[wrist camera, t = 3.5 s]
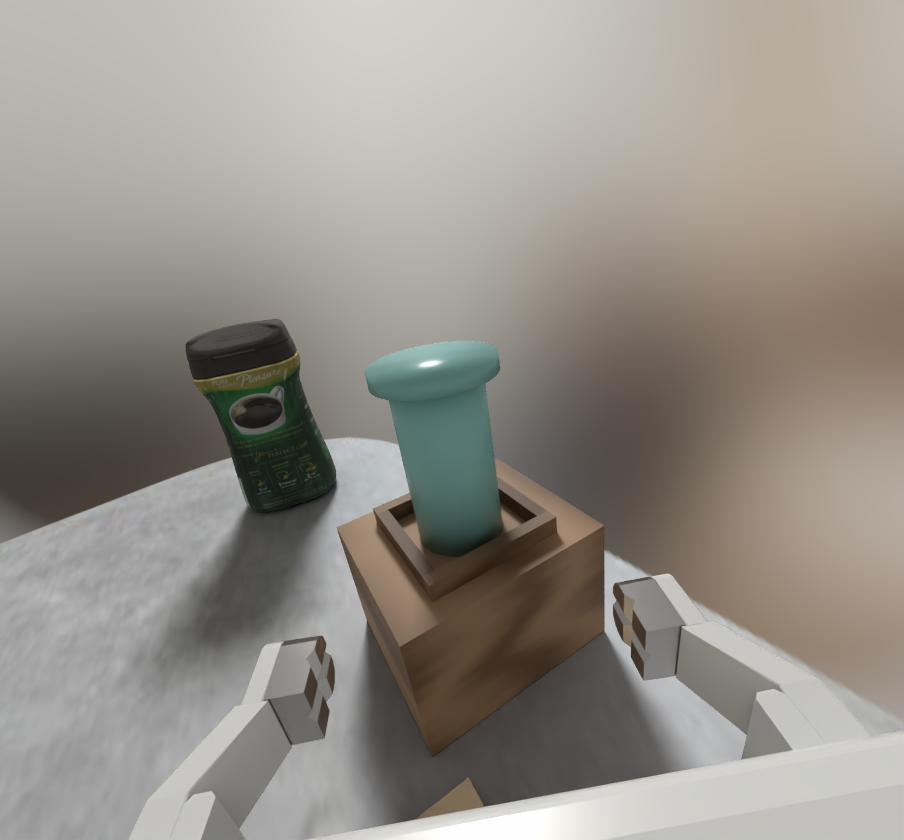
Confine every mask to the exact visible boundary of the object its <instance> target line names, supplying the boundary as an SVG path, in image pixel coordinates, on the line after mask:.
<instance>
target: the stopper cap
mask: <svg viewBox="0 0 904 840" xmlns="http://www.w3.org/2000/svg"><path fill="white" fill-rule="evenodd" d="M499 370H500V362H499V353H498V349H497V347H495V346H494V345H492V344H489V343H485V342H478V341H449V342H440V343H433V344H427V345H422V346H417V347H412V348H409V349H405V350H401V351H398V352H395V353H392V354H390V355H387V356H385V357H382V358H380V359H378V360H377V361H375V362H373V363H372V364H371V365H369V366H368V367H367V368H366V370H365V376H366V380H367V384H368V389H369V391H370V393H371V394H372V395H374V396H375V397H378V398H381V399H385V400H389V404H390V408H391V412H392V417H393V421H394V425H395V430H396V434H397V439H398V443H399V447H400V452H401V456H402V460H403V465H404V469H405V474H406V478H407V482H408V487H409V491H410V495H411V500H412V504H413V509H414V513H415V517H416V522H417V526H418V531H419V535H420V539H421V541H422V543H423V545H424V546H425V547H426V548H427V549H429V550H430V551H432V552H434V553H436V554H439V555H443V556H449V557H459V556H463V555H465V554H467V553H469V552H471V551H472V550H474V549H476V548H478V547H480V546H482V545H484V544H486V543H488V542H489V541H491V540H493V539H495V538H497V537H499V535H500V534H501V531H502V527H503V522H502V514H501V506H500V498H499V490H498V482H497V474H496V466H495V458H494V450H493V442H492V434H491V426H490V418H489V410H488V402H487V394H486V386H485V383H487V382H488V381H490V380H491V379H493V378H494V377H495V376H496V375H497V374H498V373H499Z"/></svg>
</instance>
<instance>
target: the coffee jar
mask: <svg viewBox="0 0 904 840" xmlns="http://www.w3.org/2000/svg"><path fill="white" fill-rule="evenodd" d="M186 354H187V359H188V361H189V366H190V370H191V373H192V377H193V381H194V383H195V385H196V387H197V388H198V389H199V391H200V392H201V393H202V394H203V395H204V396H205V397H206V398H207V399H208V400H209V402H210V403H211V405H212V406H213V409H214V411H215V412H216V415H217V417H218V419H219V422H220V424H221V427H222V429H223V432H224V435H225V438H226V441H227V443H228V447H229V450H230V453H231V456H232V460H233V463H234V466H235V470H236V473H237V477H238V480H239V483H240V486H241V489H242V492H243V495H244V498H245V500H246V503H247V505H248V507H249V508H250V509H252V510H254V511H257V512H269V511H273V510H277V509H282V508H285V507H288V506H292V505H295V504H298V503H301V502H304V501H307V500H310V499H313V498H315V497H318V496H320V495H322V494H324V493H326V492H327V491H328V490H329V489H330V488H331V486H332V485H333V484H334V482H335V479H336V469H335V466H334V463H333V460H332V457H331V455H330V452H329V450H328V448H327V446H326V443H325V441H324V439H323V437H322V435H321V433H320V430H319V428H318V426H317V424H316V422H315V419H314V417H313V415H312V412H311V410H310V407H309V405H308V403H307V400H306V397H305V394H304V391H303V388H302V385H301V382H300V378H299V370H300V357H299V353H298V350H297V349H296V347H295V345H294V343H293V340H292V338H291V337H290V335H289V333H288V331H287V329H286V327H285V325H284V324H283V322H282V321H281V320H279V319H272V320H264V321H256V322H249V323H243V324H237V325H232V326H228V327H224V328H220V329H216V330H213V331H209V332H206V333H203V334H200V335H198V336H196V337H194V338H192V339H191V340H189V341H188V342H187V343H186Z"/></svg>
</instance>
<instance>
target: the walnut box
mask: <svg viewBox="0 0 904 840" xmlns="http://www.w3.org/2000/svg"><path fill="white" fill-rule="evenodd" d="M495 466H496V474H497V482H498V490H499V498H500V506H501V514H502V522H503V527H502V531H501V534H500V535H499V537H497V538H495V539H493V540H491V541H489V542H488V543H486V544H484V545H482V546H480V547H478V548H476V549H474V550H472V551H471V552H469V553H467V554H465V555H463V556H459V557H449V556H443V555H439V554H436V553H434V552H432V551H430V550H429V549H427V548H426V547H425V546H424V545H423V543H422V541H421V539H420V535H419V531H418V526H417V522H416V517H415V513H414V509H413V504H412V500H411V495H410V493H408V494H406V495H404V496H401V497H399V498H397V499H395V500H392V501H390V502H388V503H385V504H383V505H381V506H378V507H376V508H374V509H373V511H374V512H371V513H369V514H367V515H365V516H362V517H360V518H358V519H355V520H353V521H351V522H349V523H346V524H344V525H342V526H339V527H337V530H338V533H339V536H340V539H341V543H342V546H343V549H344V552H345V555H346V558H347V561H348V564H349V567H350V570H351V573H352V576H353V579H354V582H355V585H356V588H357V591H358V595H359V598H360V601H361V604H362V607H363V610H364V613H365V616H366V619H367V621H368V623H369V626H370V628H371V630H372V632H373V634H374V636H375V638H376V640H377V642H378V645H379V647H380V649H381V651H382V653H383V655H384V657H385V659H386V661H387V663H388V666H389V668H390V670H391V672H392V674H393V676H394V678H395V680H396V682H397V684H398V687H399V689H400V691H401V693H402V695H403V697H404V699H405V701H406V703H407V705H408V708H409V710H410V712H411V714H412V716H413V718H414V720H415V722H416V724H417V727H418V729H419V731H420V733H421V735H422V737H423V739H424V741H425V743H426V745H427V748H428V750H429V752H430V754H431V756H432V757H433V756H434V755H436V754H437V753H438V752H440V751H441V750H443V749H444V748H445V747H447V746H448V745H449V744H451V743H452V742H453V741H455V740H456V739H458V738H459V737H460V736H462V735H463V734H464V733H466V732H467V731H468V730H470V729H471V728H472V727H474V726H475V725H477V724H478V723H479V722H481V721H482V720H483V719H485V718H486V717H487V716H489V715H490V714H492V713H493V712H494V711H496V710H497V709H498V708H500V707H501V706H502V705H504V704H505V703H507V702H508V701H509V700H511V699H512V698H513V697H515V696H516V695H517V694H519V693H520V692H521V691H523V690H524V689H526V688H527V687H528V686H530V685H531V684H532V683H534V682H535V681H536V680H538V679H539V678H541V677H542V676H543V675H545V674H546V673H547V672H549V671H550V670H551V669H553V668H554V667H556V666H557V665H558V664H560V663H561V662H562V661H564V660H565V659H566V658H568V657H569V656H570V655H572V654H573V653H575V652H576V651H577V650H579V649H580V648H581V647H583V646H584V645H585V644H587V643H588V642H590V641H591V640H592V639H594V638H595V637H596V636H598V635H599V634H600V633H602V632H603V631H604V526H603V525H602V524H601V523H599V522H597V521H596V520H594V519H593V518H591V517H589V516H588V515H586V514H585V513H583V512H581V511H580V510H578V509H577V508H575V507H573V506H572V505H570V504H569V503H567V502H565V501H564V500H562V499H561V498H559V497H557V496H556V495H554V494H553V493H551V492H549V491H548V490H546V489H545V488H543V487H542V486H540V485H538V484H537V483H535V482H534V481H532V480H530V479H529V478H527V477H526V476H524V475H522V474H521V473H519V472H518V471H516V470H514V469H513V468H511V467H509V466H508V465H506V464H505V463H503V462H501V461H500V460H498V459H497V458H495Z"/></svg>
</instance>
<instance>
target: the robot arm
mask: <svg viewBox="0 0 904 840" xmlns="http://www.w3.org/2000/svg"><path fill="white" fill-rule="evenodd" d="M613 594H614V596H615V598H616V600H617V601H616V602H615V603H614V605H613V616H614V620H615V625H616V627H617V630H618V632H619V635H620V637H621V639H622V641H623V642H624V643H626V644H627V645H629V646H630V647H631V658H632V660H633V662H634V664H635V666H636V668H637V669H638V671H639V673H640V675H641V677H642V679H643V681H645V680H652V679H658V678H665V677H672V676H676V678H677V679H678V680H680V681H681V682H682V683H683V684H685V685H686V686H687V687H688V688H689V689H691V690H692V691H693V692H694V693H696V694H697V695H698V696H699V697H701V698H702V699H703V700H704V701H706V702H707V703H708V704H709V705H710V706H712V707H713V708H714V709H715V710H717V711H718V712H719V713H720V714H722V715H723V716H724V717H725V718H727V719H728V720H729V721H730V722H731V723H733V724H734V725H735V726H736V727H738V728H739V729H740V730H741V731H743V732H744V733H745V734H746V735H747V737H746V741H745V746H744V750H743V754H742V759H741V760H736V761H731V762H725V763H720V764H715V765H709V766H704V767H698V768H693V769H687V770H682V771H677V772H671V773H666V774H660V775H655V776H650V777H644V778H639V779H633V780H628V781H622V782H617V783H611V784H606V785H600V786H595V787H590V788H584V789H579V790H573V791H568V792H562V793H557V794H551V795H546V796H540V797H535V798H530V799H524V800H519V801H513V802H508V803H502V804H497V805H492V806H486V807H481V808H475V809H470V810H465V811H459V812H454V813H448V814H443V815H438V816H432V817H427V818H421V819H416V820H411V821H405V822H400V823H394V824H389V825H383V826H378V827H373V828H367V829H362V830H356V831H351V832H345V833H340V834H335V835H329V836H324V837H318V838H313V839H307V840H904V730H899V731H893V732H888V733H883V734H877V735H872V736H871V735H870V734H869V733H868V732H867V731H866V729H865V728H864V727H863V726H862V725H861V724H860V723H859V722H858V721H857V720H856V719H855V717H854V716H853V715H852V714H851V713H850V712H849V711H848V710H847V709H846V708H845V707H844V705H843V704H842V703H841V702H840V701H839V700H838V699H837V698H836V697H835V696H834V695H833V693H832V692H831V691H830V690H829V689H828V688H827V687H826V686H825V685H824V684H823V683H822V681H821V680H820V679H818V678H816V677H814V676H812V675H811V674H809V673H807V672H805V671H803V670H802V669H800V668H798V667H796V666H794V665H792V664H791V663H789V662H787V661H785V660H783V659H782V658H780V657H778V656H776V655H774V654H773V653H771V652H769V651H767V650H765V649H763V648H762V647H760V646H758V645H756V644H754V643H753V642H751V641H749V640H747V639H745V638H743V637H742V636H740V635H738V634H736V633H734V632H733V631H731V630H729V629H727V628H725V627H723V626H722V625H720V624H718V623H716V622H714V621H709V622H708V621H707V620H706V619H705V618H704V616H703V615H702V614H701V612H700V611H699V610H698V608H697V607H696V606H695V605H694V603H693V602H692V601H691V599H690V598H689V597H688V596H687V594H686V593H685V592H684V590H683V589H682V588H681V587H680V585H679V584H678V583H677V581H676V580H675V579H674V578H673V576H671V575H670V574H663V575H658V576H652V577H645V578H640V579H635V580H629V581H624V582H619V583H615V584H614V586H613ZM325 649H326V642H325V640H324V638H323V636H316V637H309V638H303V639H296V640H289V641H284V642H277V643H271V644H266V645H265V646H264V648H263V649H262V650H261V653H260V655H259V658H258V661H257V663H256V666H255V669H254V671H253V674H252V677H251V679H250V682H249V685H248V687H247V690H246V693H245V695H244V698H243V701H242V703H241V705H239V706H235V707H234V708H233V709H232V710H231V711H230V712H229V713H228V715H227V716H226V717H225V718H224V719H223V720H222V721H221V722H220V723H219V724H218V725H217V726H216V727H215V728H214V730H213V731H212V732H211V733H210V734H209V735H208V736H207V737H206V738H205V739H204V740H203V741H202V742H201V743H200V745H199V746H198V747H197V748H196V749H195V750H194V751H193V752H192V753H191V754H190V755H189V756H188V757H187V758H186V760H185V761H184V762H183V763H182V764H181V765H180V766H179V767H178V768H177V769H176V770H175V771H174V772H173V773H172V775H171V776H170V777H169V778H168V779H167V780H166V781H165V782H164V783H163V784H162V785H161V786H160V787H159V788H158V790H157V791H156V792H155V793H154V794H153V795H152V796H151V797H150V798H149V799H148V800H147V802H146V804H145V806H144V808H143V810H142V812H141V814H140V816H139V819H138V821H137V823H136V825H135V827H134V829H133V831H132V833H131V835H130V837H129V839H128V840H246V838H245V837H244V836H243V834H242V833H241V831H240V830H239V828H240V827H241V825H242V824H243V822H244V821H245V819H246V817H247V816H248V814H249V813H250V811H251V810H252V808H253V807H254V805H255V804H256V802H257V800H258V799H259V797H260V796H261V794H262V793H263V791H264V790H265V788H266V787H267V785H268V783H269V782H270V780H271V779H272V777H273V776H274V774H275V773H276V771H277V770H278V768H279V766H280V765H281V763H282V762H283V760H284V759H285V757H286V756H287V754H288V753H289V751H290V749H291V748H292V746H291V745H295V744H300V743H304V742H309V741H314V740H318V739H323V738H325V733H326V728H327V722H328V717H329V708H328V706H327V703H326V702H327V700H328V699H329V698H330V696H331V695H332V694H333V689H334V683H335V669H334V664H333V660H332V657H331V655H329V654H328V653H326V652H325Z"/></svg>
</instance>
